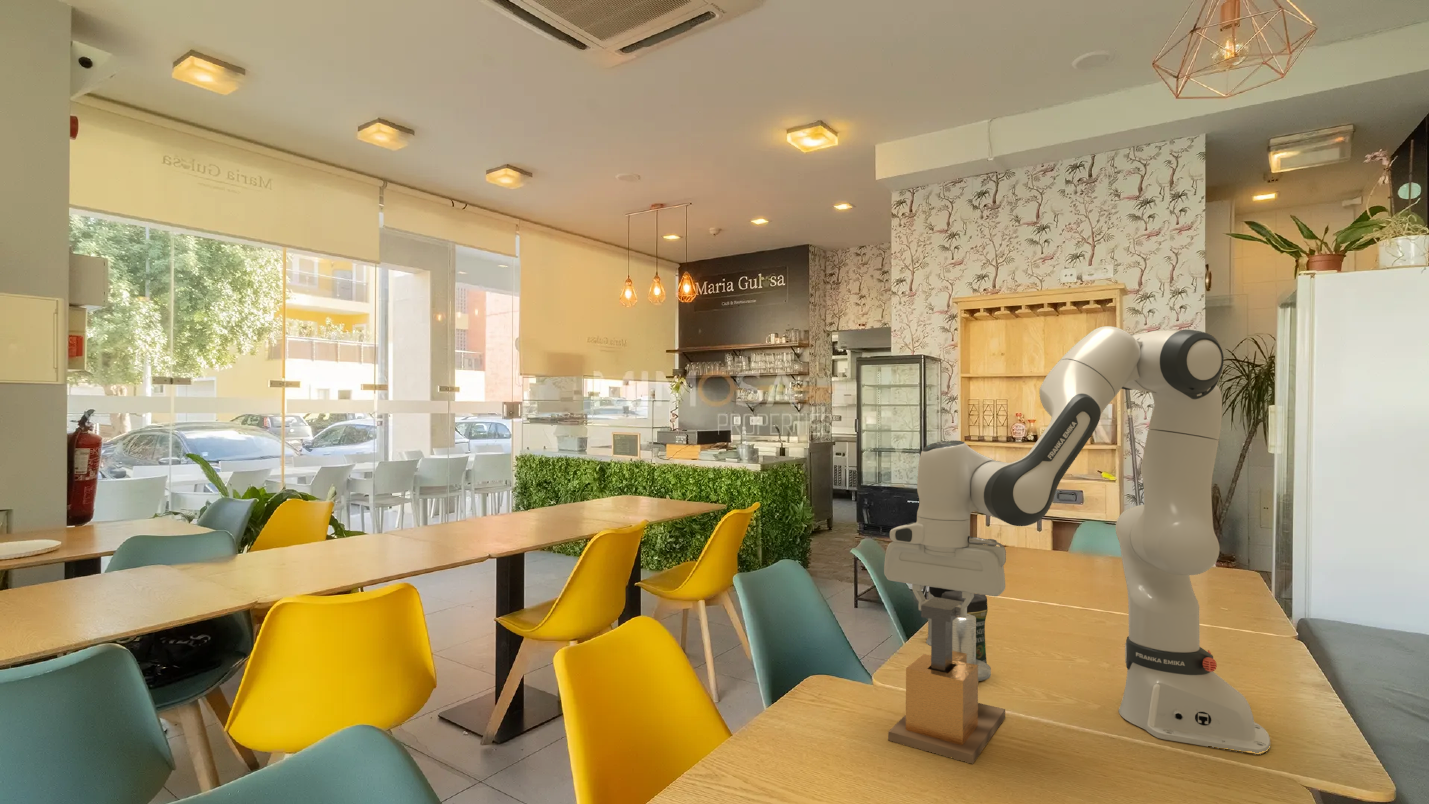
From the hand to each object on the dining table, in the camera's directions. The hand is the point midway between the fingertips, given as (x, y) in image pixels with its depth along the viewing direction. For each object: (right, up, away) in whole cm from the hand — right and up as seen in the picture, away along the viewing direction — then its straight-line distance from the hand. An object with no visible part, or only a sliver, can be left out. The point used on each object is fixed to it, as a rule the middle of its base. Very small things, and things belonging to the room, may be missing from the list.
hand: (942, 613), depth 122 cm
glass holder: (+20, -23, +50) cm, 59 cm away
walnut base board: (+2, -21, +2) cm, 21 cm away
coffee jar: (+14, -22, +28) cm, 38 cm away
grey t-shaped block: (0, -10, 0) cm, 10 cm away
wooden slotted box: (+3, -20, +5) cm, 21 cm away
